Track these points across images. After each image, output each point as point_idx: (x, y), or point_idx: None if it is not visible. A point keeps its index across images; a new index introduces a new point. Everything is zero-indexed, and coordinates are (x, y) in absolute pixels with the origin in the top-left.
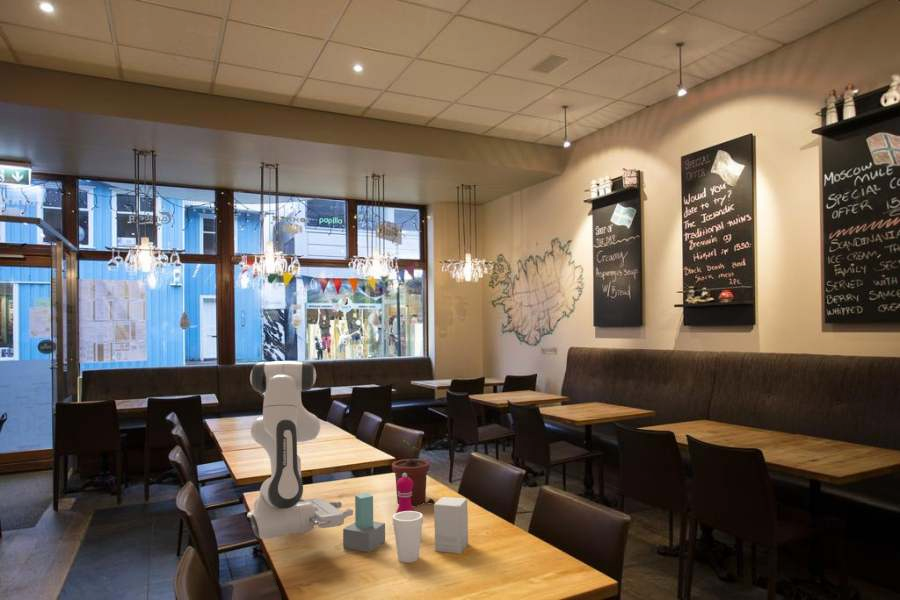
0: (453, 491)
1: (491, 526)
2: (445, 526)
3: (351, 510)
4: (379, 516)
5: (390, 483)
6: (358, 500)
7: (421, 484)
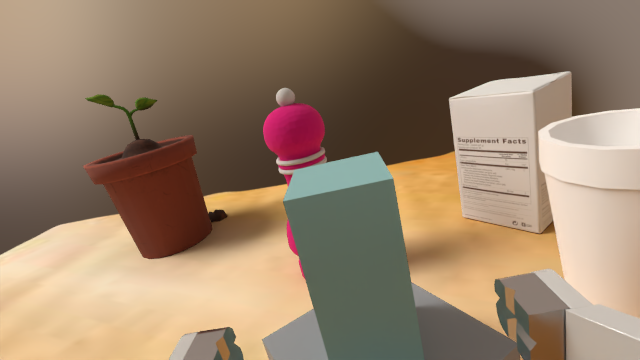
0: (209, 195)
1: (408, 171)
2: None
3: (557, 279)
4: (172, 303)
5: (45, 255)
6: (356, 210)
7: (198, 183)
